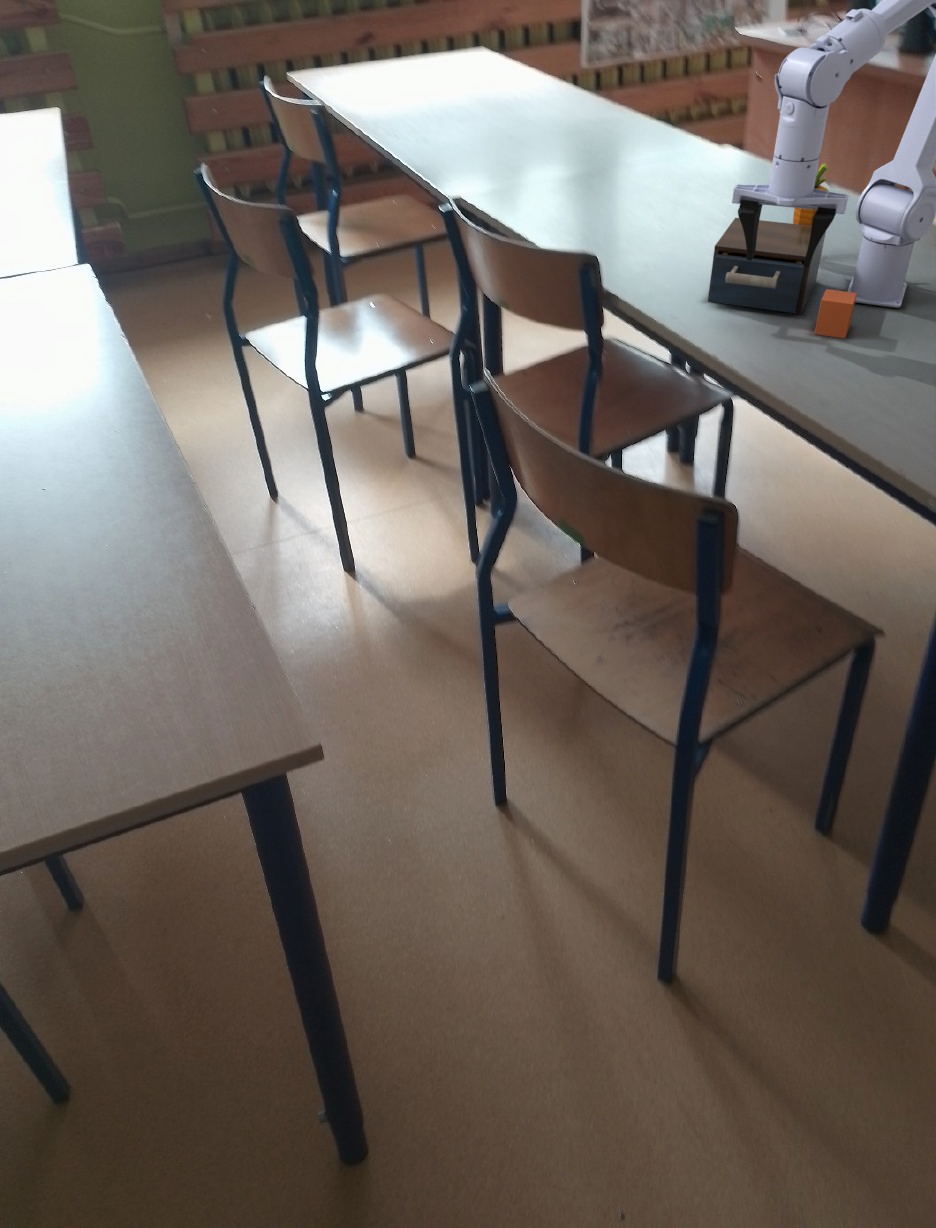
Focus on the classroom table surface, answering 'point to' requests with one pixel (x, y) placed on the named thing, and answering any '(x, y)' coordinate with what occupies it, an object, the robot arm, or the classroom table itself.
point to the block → (835, 313)
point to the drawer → (757, 281)
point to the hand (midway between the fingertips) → (778, 261)
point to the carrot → (807, 215)
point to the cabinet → (776, 249)
